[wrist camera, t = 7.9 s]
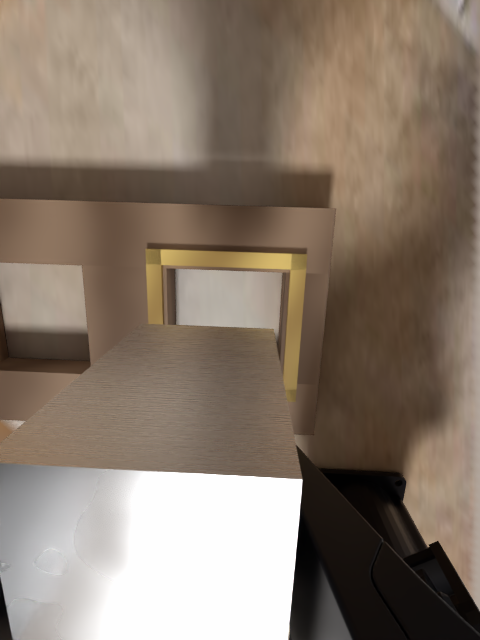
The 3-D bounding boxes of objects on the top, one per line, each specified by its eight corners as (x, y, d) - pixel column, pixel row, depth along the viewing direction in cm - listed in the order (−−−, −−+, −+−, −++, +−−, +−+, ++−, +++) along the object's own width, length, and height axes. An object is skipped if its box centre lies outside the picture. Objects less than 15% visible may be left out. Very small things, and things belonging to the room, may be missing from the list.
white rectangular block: (273, 329, 11) (302, 479, 5) (266, 445, 12) (281, 704, 6) (141, 323, 11) (-23, 461, 5) (146, 439, 13) (21, 684, 6)
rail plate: (327, 210, 19) (337, 208, 17) (308, 417, 23) (314, 438, 20) (-55, 199, 20) (-94, 195, 18) (-18, 401, 23) (-47, 420, 21)
